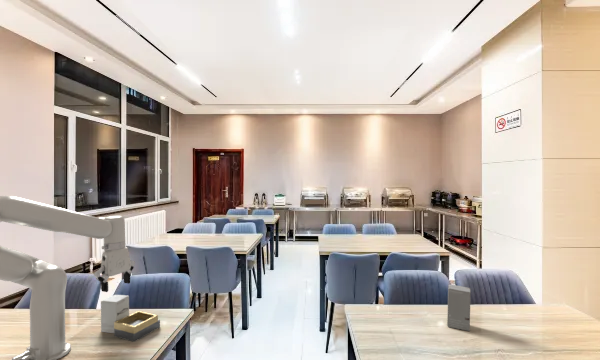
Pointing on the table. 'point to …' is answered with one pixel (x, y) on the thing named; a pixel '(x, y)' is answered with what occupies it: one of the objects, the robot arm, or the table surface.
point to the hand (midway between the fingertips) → (116, 287)
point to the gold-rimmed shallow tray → (136, 325)
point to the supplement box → (113, 311)
